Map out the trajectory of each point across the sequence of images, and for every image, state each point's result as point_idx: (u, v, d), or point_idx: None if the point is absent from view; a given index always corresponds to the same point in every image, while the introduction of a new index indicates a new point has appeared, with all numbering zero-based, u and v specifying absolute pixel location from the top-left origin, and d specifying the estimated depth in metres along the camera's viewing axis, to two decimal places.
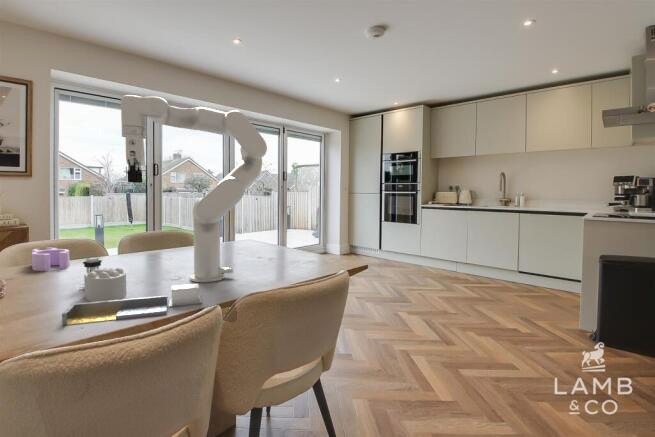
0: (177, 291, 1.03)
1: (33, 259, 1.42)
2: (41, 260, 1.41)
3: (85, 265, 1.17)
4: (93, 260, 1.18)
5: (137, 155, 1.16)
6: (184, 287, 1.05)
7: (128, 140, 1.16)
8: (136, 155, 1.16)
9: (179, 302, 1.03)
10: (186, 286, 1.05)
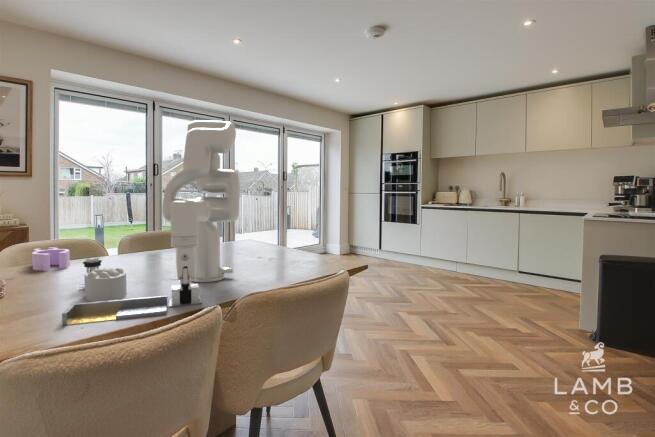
0: (177, 291, 1.03)
1: (33, 259, 1.43)
2: (40, 260, 1.42)
3: (85, 265, 1.17)
4: (93, 260, 1.18)
5: (189, 271, 1.01)
6: None
7: (180, 254, 1.00)
8: (189, 271, 1.01)
9: (179, 302, 1.03)
10: None
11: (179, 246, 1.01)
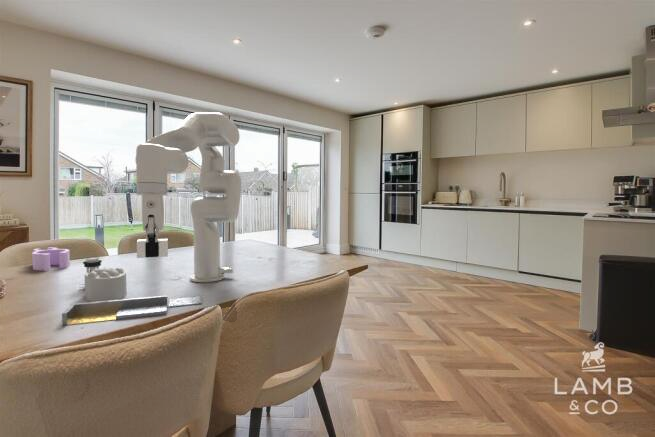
0: (143, 243, 0.93)
1: (33, 259, 1.43)
2: (41, 260, 1.42)
3: (85, 265, 1.17)
4: (93, 260, 1.18)
5: (156, 220, 0.92)
6: None
7: (146, 201, 0.91)
8: (155, 220, 0.92)
9: (145, 256, 0.94)
10: None
11: (145, 193, 0.92)
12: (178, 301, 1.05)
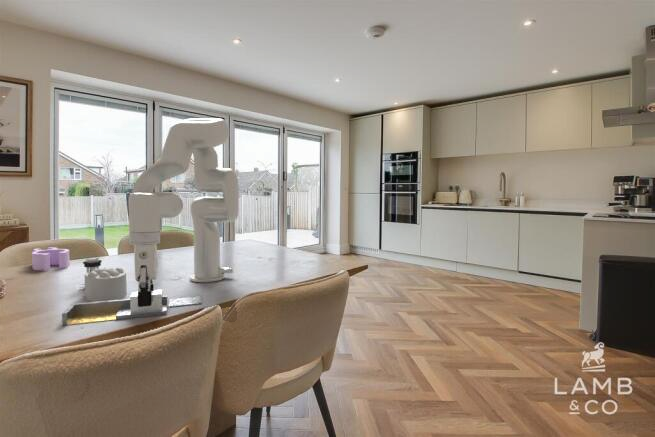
0: (137, 298, 0.93)
1: (33, 259, 1.43)
2: (40, 260, 1.42)
3: (85, 265, 1.17)
4: (93, 260, 1.18)
5: (149, 271, 0.91)
6: None
7: (138, 252, 0.90)
8: (148, 270, 0.91)
9: (139, 310, 0.94)
10: None
11: (137, 243, 0.91)
12: (178, 301, 1.05)
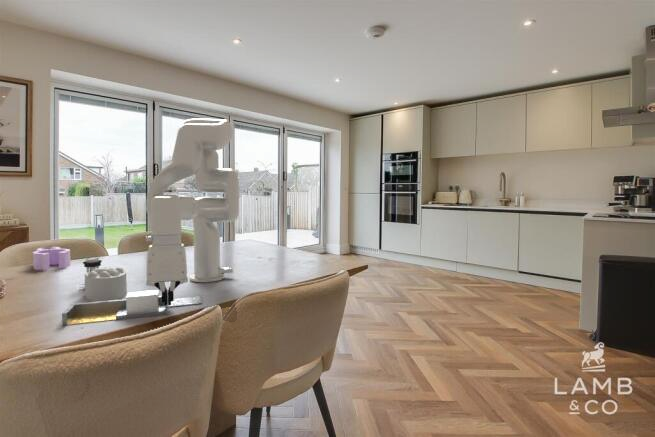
0: (133, 299, 0.93)
1: (33, 258, 1.44)
2: (40, 259, 1.43)
3: (85, 265, 1.17)
4: (93, 260, 1.18)
5: None
6: (141, 294, 0.95)
7: None
8: None
9: (135, 311, 0.93)
10: (144, 293, 0.96)
11: None
12: (178, 301, 1.05)
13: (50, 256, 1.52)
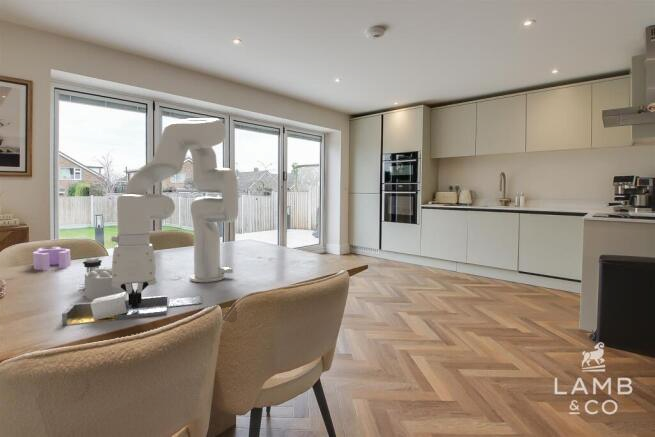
0: (98, 304, 0.89)
1: (34, 258, 1.44)
2: (40, 259, 1.43)
3: (85, 265, 1.17)
4: (93, 260, 1.18)
5: None
6: (107, 298, 0.91)
7: None
8: None
9: (103, 316, 0.90)
10: (109, 297, 0.92)
11: None
12: (178, 301, 1.05)
13: (50, 256, 1.52)
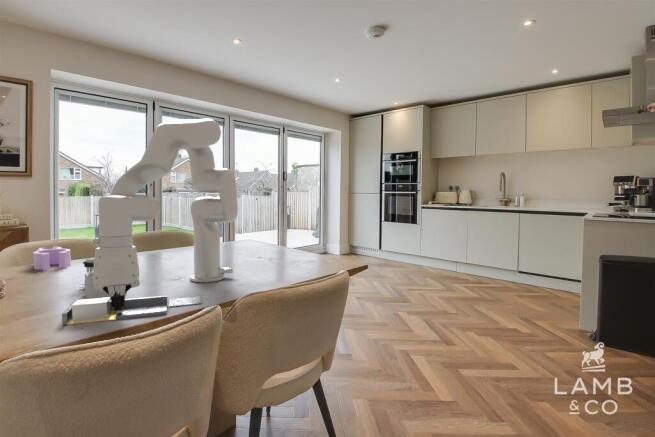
0: (79, 307, 0.88)
1: (34, 258, 1.44)
2: (40, 259, 1.43)
3: (85, 265, 1.17)
4: (93, 260, 1.18)
5: None
6: (89, 302, 0.90)
7: None
8: None
9: (82, 320, 0.88)
10: (92, 301, 0.91)
11: None
12: (178, 301, 1.05)
13: (51, 256, 1.52)
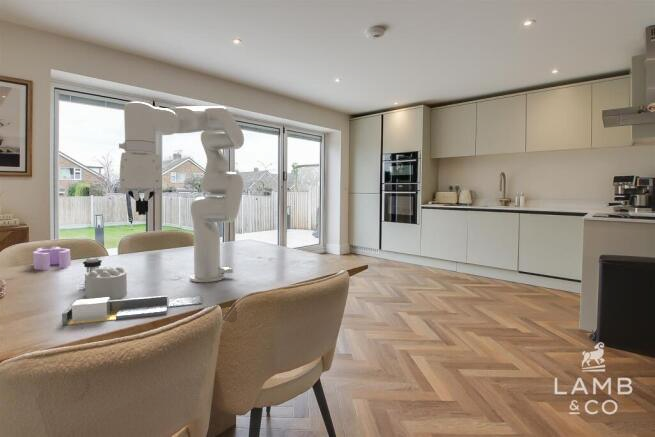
0: (79, 307, 0.88)
1: (34, 258, 1.44)
2: (41, 259, 1.43)
3: (85, 265, 1.17)
4: (93, 260, 1.18)
5: None
6: (89, 302, 0.90)
7: None
8: None
9: (82, 320, 0.88)
10: (92, 301, 0.91)
11: None
12: (178, 301, 1.05)
13: (50, 256, 1.53)
